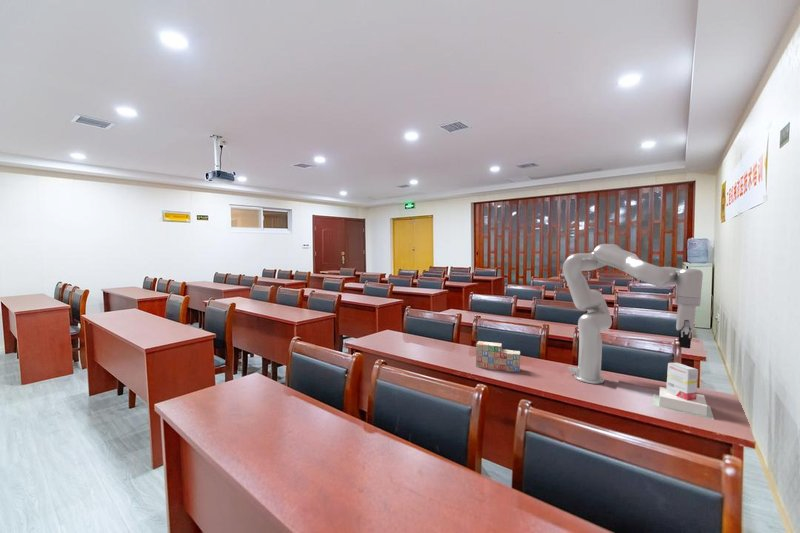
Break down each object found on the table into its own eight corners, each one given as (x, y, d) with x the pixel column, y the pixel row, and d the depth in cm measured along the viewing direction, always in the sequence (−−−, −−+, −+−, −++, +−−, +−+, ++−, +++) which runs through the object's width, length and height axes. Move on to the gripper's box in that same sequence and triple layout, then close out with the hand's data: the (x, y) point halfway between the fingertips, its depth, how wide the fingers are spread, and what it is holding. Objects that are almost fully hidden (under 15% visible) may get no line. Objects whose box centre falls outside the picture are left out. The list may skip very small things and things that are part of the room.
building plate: (652, 408, 139) (652, 405, 139) (653, 396, 150) (653, 394, 150) (713, 422, 128) (714, 419, 128) (709, 408, 139) (709, 405, 139)
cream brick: (659, 406, 138) (659, 396, 138) (659, 396, 148) (659, 386, 148) (706, 416, 130) (707, 406, 130) (703, 405, 140) (704, 395, 140)
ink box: (697, 399, 136) (699, 369, 135) (686, 400, 134) (688, 369, 134) (675, 390, 144) (677, 361, 143) (665, 391, 143) (667, 362, 142)
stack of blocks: (519, 369, 182) (520, 345, 181) (519, 373, 176) (520, 348, 175) (477, 363, 190) (478, 340, 189) (475, 367, 184) (476, 343, 183)
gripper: (674, 297, 146) (671, 338, 147) (675, 302, 132) (672, 348, 133) (698, 299, 141) (694, 341, 143) (702, 305, 128) (698, 352, 129)
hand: (684, 344), depth 138 cm, fingers open, 9 cm apart
